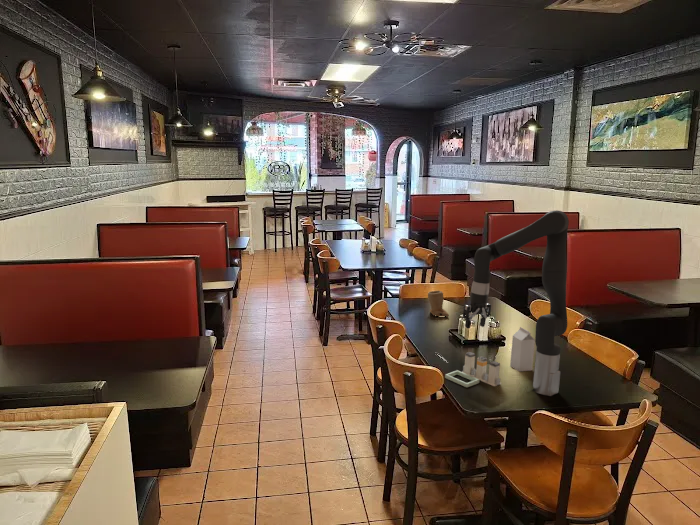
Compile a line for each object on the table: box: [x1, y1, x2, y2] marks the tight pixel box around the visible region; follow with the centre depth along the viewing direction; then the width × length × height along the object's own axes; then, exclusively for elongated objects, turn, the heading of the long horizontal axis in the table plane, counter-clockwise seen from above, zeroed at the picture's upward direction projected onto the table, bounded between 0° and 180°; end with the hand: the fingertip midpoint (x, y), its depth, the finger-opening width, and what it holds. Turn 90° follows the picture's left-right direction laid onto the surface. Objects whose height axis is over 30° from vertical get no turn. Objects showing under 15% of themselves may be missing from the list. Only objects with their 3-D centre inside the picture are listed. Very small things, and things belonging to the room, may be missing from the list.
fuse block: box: [462, 351, 503, 387], centre depth 222 cm, size 18×5×10 cm, turn 38°
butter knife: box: [436, 353, 449, 364], centre depth 242 cm, size 1×27×3 cm
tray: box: [444, 369, 480, 388], centre depth 220 cm, size 12×8×3 cm, turn 38°
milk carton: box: [509, 326, 536, 372], centre depth 236 cm, size 7×7×19 cm
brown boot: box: [427, 290, 450, 318], centre depth 318 cm, size 15×12×15 cm
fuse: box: [475, 356, 488, 380], centre depth 222 cm, size 3×3×9 cm
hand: (474, 327), depth 227 cm, fingers open, 8 cm apart
